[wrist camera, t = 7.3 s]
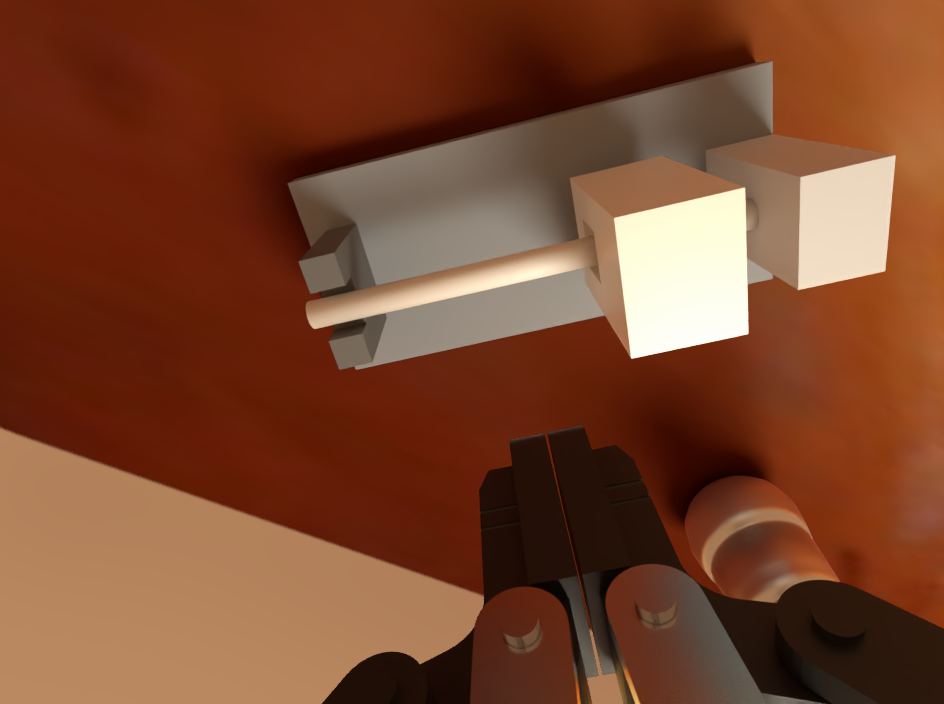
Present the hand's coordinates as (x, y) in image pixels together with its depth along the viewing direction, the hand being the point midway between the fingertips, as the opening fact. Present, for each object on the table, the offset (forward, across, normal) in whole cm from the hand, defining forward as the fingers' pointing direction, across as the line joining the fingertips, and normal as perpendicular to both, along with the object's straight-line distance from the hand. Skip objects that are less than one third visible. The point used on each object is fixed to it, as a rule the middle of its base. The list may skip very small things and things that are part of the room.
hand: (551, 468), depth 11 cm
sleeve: (+16, -6, 0) cm, 17 cm away
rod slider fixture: (+19, -2, 0) cm, 19 cm away
